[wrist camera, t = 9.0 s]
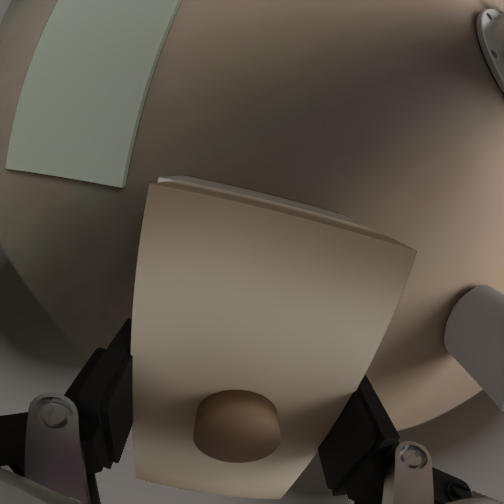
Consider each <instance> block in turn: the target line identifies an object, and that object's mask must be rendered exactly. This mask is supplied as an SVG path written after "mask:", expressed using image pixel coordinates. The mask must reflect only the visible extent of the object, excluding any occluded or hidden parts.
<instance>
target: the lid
mask: <svg viewBox="0 0 504 504" xmlns="http://www.w3.org/2000/svg"><path fill="white" fill-rule="evenodd" d="M416 253H417V251H416V250H414V249H412V248H410V247H408V246H406V245H404V244H402V243H400V242H398V241H396V240H394V239H392V238H390V237H388V236H386V235H384V234H382V233H380V232H377V231H375V230H373V229H371V228H368V227H365V226H361V225H358V224H355V223H351V222H348V221H344V220H341V219H337V218H334V217H330V216H327V215H323V214H319V213H316V212H312V211H308V210H305V209H301V208H297V207H293V206H289V205H285V204H281V203H278V202H274V201H270V200H265V199H261V198H257V197H253V196H249V195H245V194H240V193H236V192H232V191H227V190H223V189H218V188H214V187H209V186H205V185H200V184H195V183H190V182H185V181H180V180H176V181H166V182H157V183H149V188H148V193H147V199H146V204H145V210H144V216H143V222H142V229H141V236H140V243H139V251H138V259H137V267H136V276H135V287H134V298H133V312H132V329H131V355H132V356H133V424H132V437H133V450H134V460H135V469H136V477H137V478H139V479H142V480H146V481H149V482H153V483H157V484H161V485H165V486H170V487H174V488H179V489H184V490H190V491H196V492H202V493H208V494H216V495H224V496H234V497H246V498H267V499H280V498H281V497H282V496H283V495H284V494H285V493H286V492H287V490H288V489H289V488H290V487H291V485H292V484H293V483H294V482H295V480H296V479H297V478H298V477H299V475H300V474H301V473H302V471H303V470H304V469H305V467H306V466H307V465H308V464H309V462H310V461H311V460H312V458H313V457H314V455H315V454H316V453H317V451H318V447H319V446H320V445H321V443H322V442H323V440H324V439H325V437H326V436H327V434H328V433H329V431H330V430H331V428H332V426H333V425H334V423H335V422H336V420H337V419H338V417H339V415H340V414H341V412H342V410H343V409H344V407H345V405H346V404H347V402H348V400H349V399H350V397H351V395H352V393H353V392H355V391H356V390H357V388H358V386H359V384H360V382H361V381H362V379H363V377H364V375H365V373H366V371H367V369H368V367H369V365H370V364H371V362H372V360H373V358H374V356H375V354H376V352H377V350H378V347H379V345H380V343H381V341H382V339H383V337H384V335H385V333H386V330H387V328H388V326H389V324H390V321H391V319H392V317H393V314H394V312H395V310H396V307H397V305H398V302H399V300H400V297H401V295H402V292H403V290H404V287H405V285H406V282H407V279H408V276H409V274H410V271H411V268H412V265H413V262H414V259H415V256H416Z"/></svg>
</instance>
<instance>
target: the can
mask: <svg viewBox="0 0 504 504" xmlns="http://www.w3.org/2000/svg"><path fill="white" fill-rule="evenodd" d="M444 344H445V348H446V350H447V351H448V352H449V353H450V354H451V355H452V356H453V357H454V358H455V359H456V360H457V361H458V362H459V364H460V365H461V366H462V367H463V368H464V369H465V370H466V371H467V372H468V373H469V374H470V375H471V376H472V377H473V378H474V379H475V381H476V382H477V383H478V384H479V385H480V386H481V387H482V388H483V389H484V390H485V392H486V393H487V394H488V395H489V396H490V397H491V398H492V399H493V400H494V402H495V403H496V404H497V405H498V406H499V407H500V409H501V410H502V411H503V412H504V295H503V294H502V293H500V292H499V291H497V290H495V289H493V288H492V287H490V286H488V285H479V286H477V287H475V288H473V289H471V290H470V291H469V292H467V293H466V294H465V295H463V296H462V297H461V298H460V299H459V300H458V302H457V303H456V304H455V305H454V307H453V309H452V311H451V313H450V315H449V317H448V320H447V323H446V329H445V335H444Z"/></svg>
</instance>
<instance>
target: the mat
mask: <svg viewBox="0 0 504 504" xmlns="http://www.w3.org/2000/svg"><path fill="white" fill-rule="evenodd" d="M181 2H182V0H59V1H58V3H57V5H56V7H55V8H54V10H53V12H52V14H51V16H50V18H49V20H48V22H47V25H46V27H45V29H44V31H43V33H42V36H41V38H40V40H39V43H38V45H37V47H36V50H35V53H34V55H33V58H32V60H31V63H30V66H29V69H28V72H27V75H26V78H25V81H24V84H23V87H22V91H21V94H20V98H19V101H18V105H17V109H16V113H15V117H14V122H13V126H12V131H11V136H10V142H9V147H8V154H7V160H6V168H5V169H13V170H20V171H26V172H33V173H39V174H46V175H52V176H58V177H64V178H70V179H76V180H82V181H87V182H93V183H99V184H104V185H109V186H115V187H120V188H123V187H125V185H126V179H127V174H128V169H129V164H130V159H131V154H132V150H133V145H134V141H135V137H136V133H137V128H138V124H139V121H140V117H141V113H142V109H143V106H144V102H145V99H146V95H147V92H148V89H149V86H150V82H151V79H152V76H153V73H154V70H155V67H156V64H157V61H158V58H159V56H160V53H161V50H162V47H163V45H164V42H165V39H166V37H167V34H168V32H169V29H170V27H171V24H172V22H173V20H174V17H175V15H176V13H177V10H178V8H179V6H180V4H181Z"/></svg>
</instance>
